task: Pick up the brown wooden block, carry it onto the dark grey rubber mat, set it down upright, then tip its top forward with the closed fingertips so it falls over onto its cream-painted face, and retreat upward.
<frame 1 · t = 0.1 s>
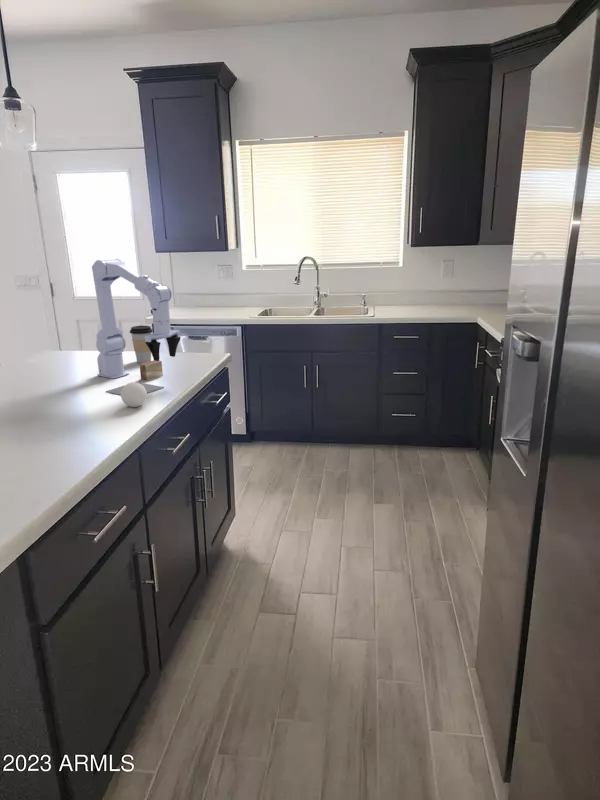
hand: (164, 358, 188), 10 cm above the worktop, fingers open, 7 cm apart
ball: (135, 407, 168), on the worktop
coffee cup: (144, 362, 226), on the worktop
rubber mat: (135, 389, 185), on the worktop
brown wooden block: (152, 377, 201), on the worktop
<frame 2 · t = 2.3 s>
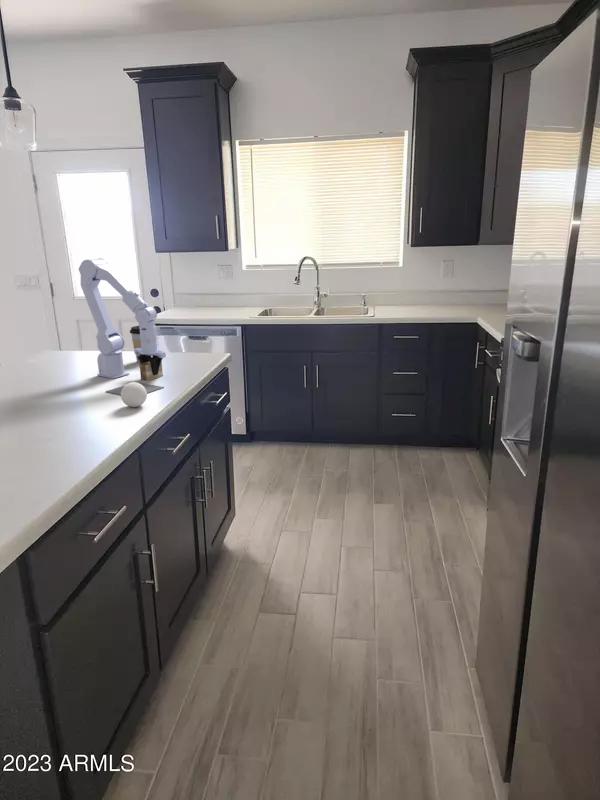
hand: (151, 374, 201), 1 cm above the worktop, fingers closed on brown wooden block, 3 cm apart
brown wooden block: (152, 377, 201), on the worktop, touching gripper
everything else where it was.
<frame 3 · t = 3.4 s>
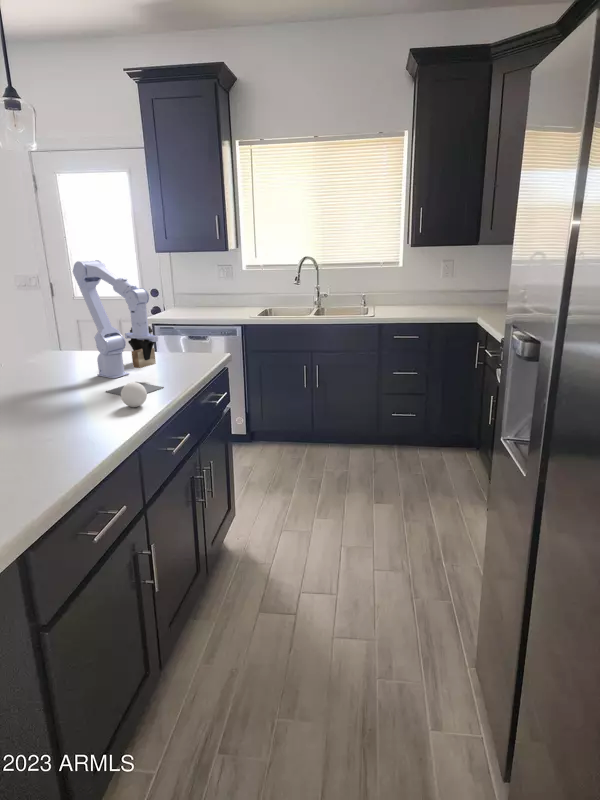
hand: (143, 359, 194), 8 cm above the worktop, fingers closed on brown wooden block, 3 cm apart
brown wooden block: (144, 365, 195), point 6 cm above the worktop, touching gripper
everything else where it was.
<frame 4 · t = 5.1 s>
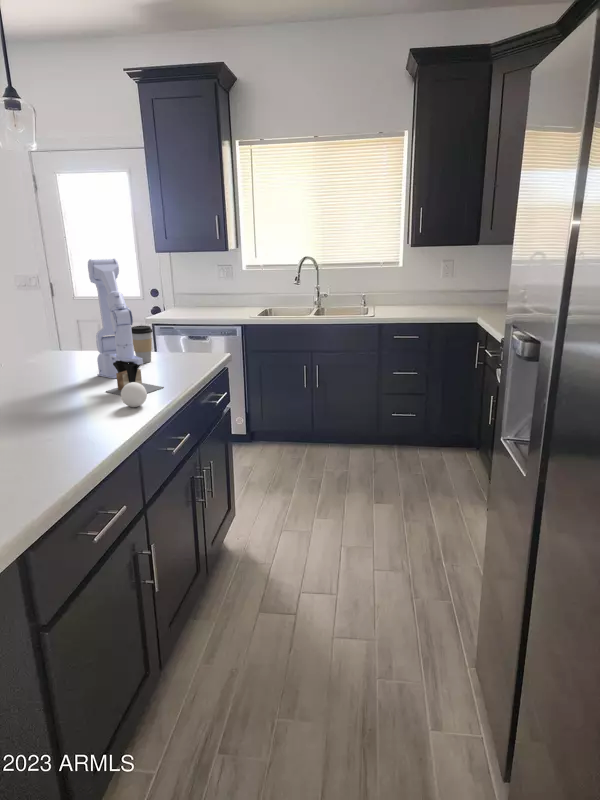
hand: (128, 381, 186), 3 cm above the worktop, fingers closed on brown wooden block, 3 cm apart
brown wooden block: (130, 387, 187), resting on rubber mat, touching gripper
everything else where it was.
when the fingers open (3 cm above the worktop, at t = 5.4 s): brown wooden block stays where it is, resting on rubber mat.
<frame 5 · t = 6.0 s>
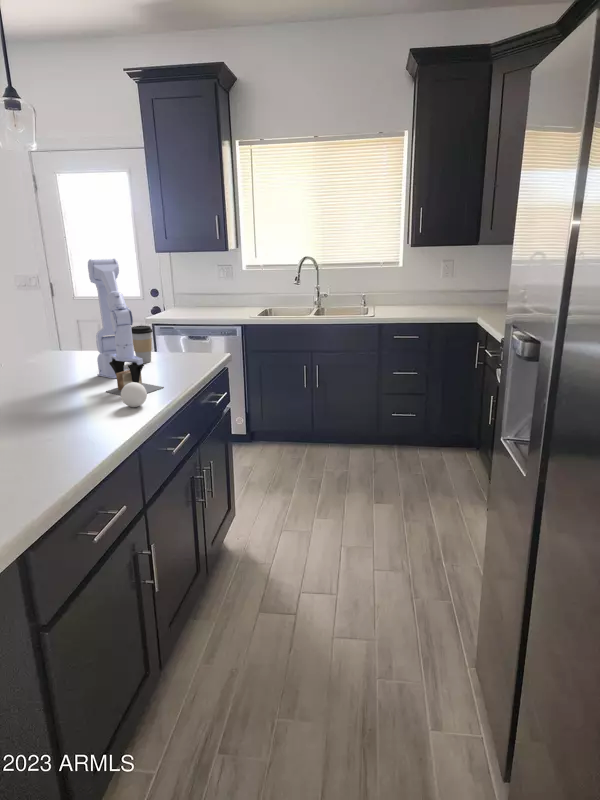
hand: (128, 381, 186), 3 cm above the worktop, fingers open, 7 cm apart
brown wooden block: (130, 387, 187), resting on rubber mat
everything else where it was.
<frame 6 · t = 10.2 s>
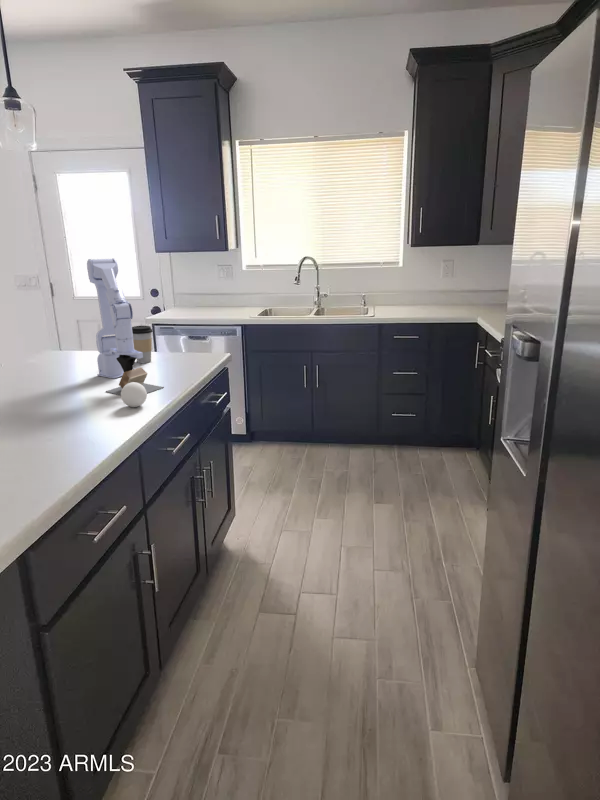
hand: (128, 376, 185), 5 cm above the worktop, fingers closed, pressing on brown wooden block
brown wooden block: (130, 385, 187), point 1 cm above the worktop, tilted 34°, touching gripper, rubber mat
everything else where it was.
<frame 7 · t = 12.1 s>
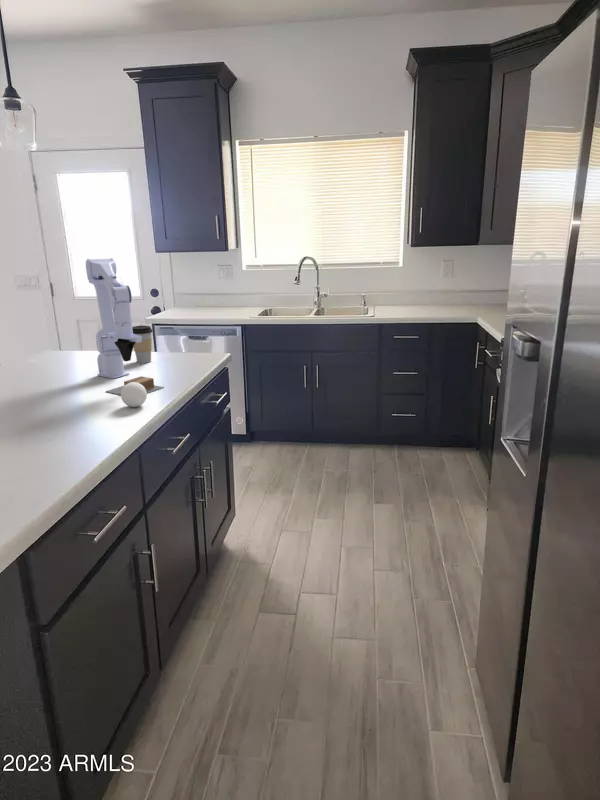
hand: (127, 360, 183), 10 cm above the worktop, fingers closed
brown wooden block: (133, 383, 186), point 2 cm above the worktop, tilted 90°, touching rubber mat
everything else where it was.
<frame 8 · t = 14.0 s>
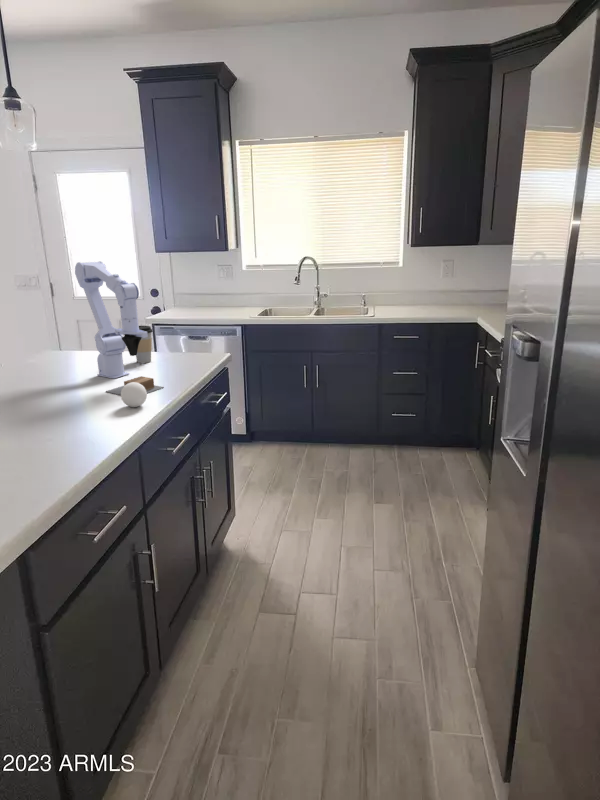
hand: (133, 355, 191), 10 cm above the worktop, fingers closed
nothing on the worktop moved.
at the end: brown wooden block tilted 90°; brown wooden block inside the target area (2.3 cm from its centre), point 2.0 cm above the worktop; the gripper is holding nothing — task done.
